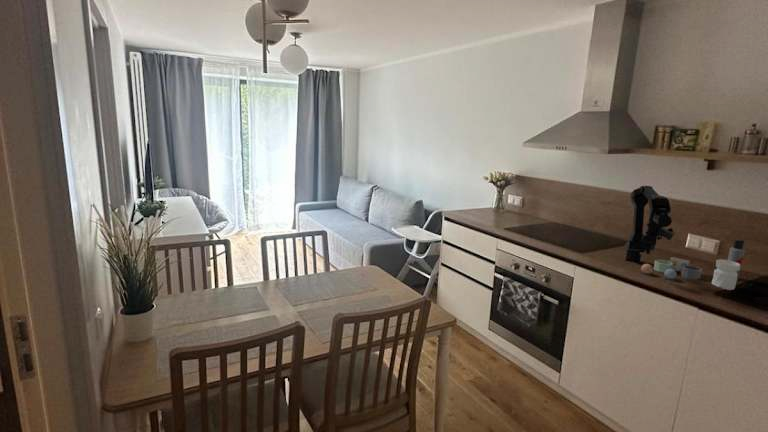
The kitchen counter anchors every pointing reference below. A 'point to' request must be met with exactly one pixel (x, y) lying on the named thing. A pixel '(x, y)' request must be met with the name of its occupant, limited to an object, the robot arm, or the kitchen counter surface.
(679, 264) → the dot card
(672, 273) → the ball slate
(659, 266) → the tube left
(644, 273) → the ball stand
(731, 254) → the lotion bottle
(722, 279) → the vase
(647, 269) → the ball terracotta
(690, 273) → the tube right
